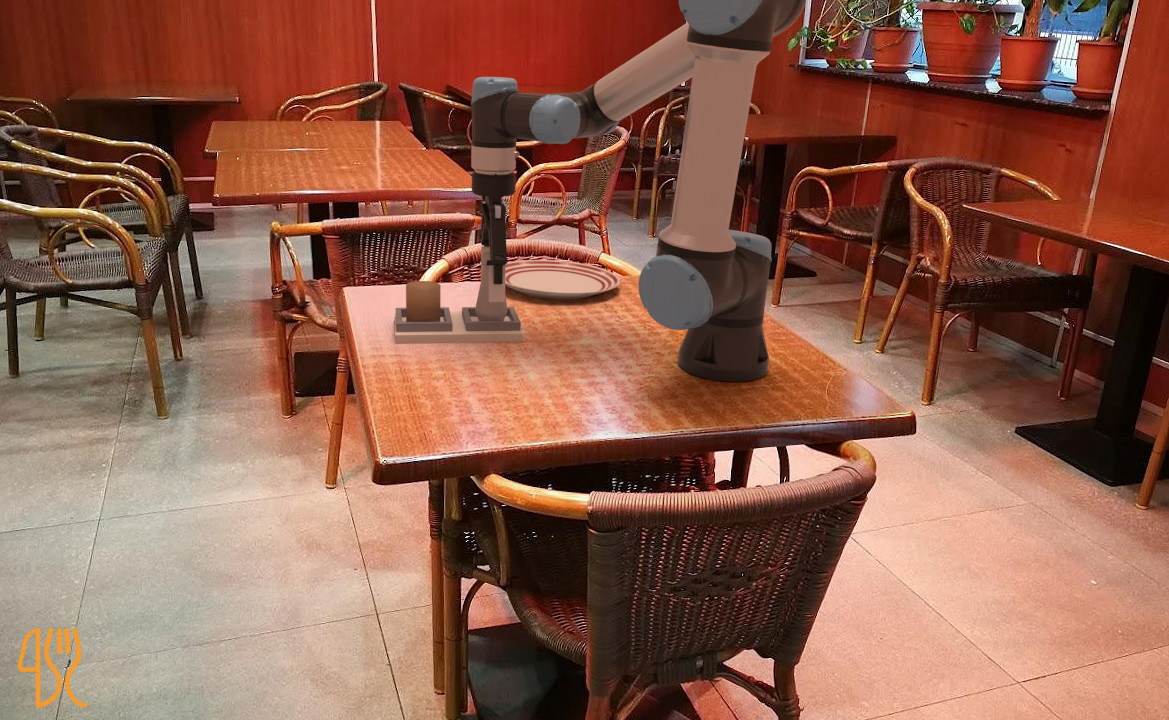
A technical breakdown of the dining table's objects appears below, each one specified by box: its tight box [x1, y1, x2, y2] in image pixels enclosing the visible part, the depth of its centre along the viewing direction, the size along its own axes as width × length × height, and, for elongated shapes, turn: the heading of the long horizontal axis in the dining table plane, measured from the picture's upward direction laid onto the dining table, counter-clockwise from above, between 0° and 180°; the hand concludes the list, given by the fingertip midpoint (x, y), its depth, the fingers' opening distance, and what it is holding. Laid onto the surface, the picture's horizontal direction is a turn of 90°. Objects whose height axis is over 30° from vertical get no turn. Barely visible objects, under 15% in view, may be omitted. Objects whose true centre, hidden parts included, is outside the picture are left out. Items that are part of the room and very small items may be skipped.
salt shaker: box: [474, 251, 508, 321], centre depth 169 cm, size 6×6×13 cm
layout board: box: [393, 280, 524, 345], centre depth 169 cm, size 13×22×8 cm, turn 101°
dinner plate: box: [505, 259, 621, 300], centre depth 201 cm, size 28×27×3 cm
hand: (492, 291), depth 169 cm, fingers open, 13 cm apart
